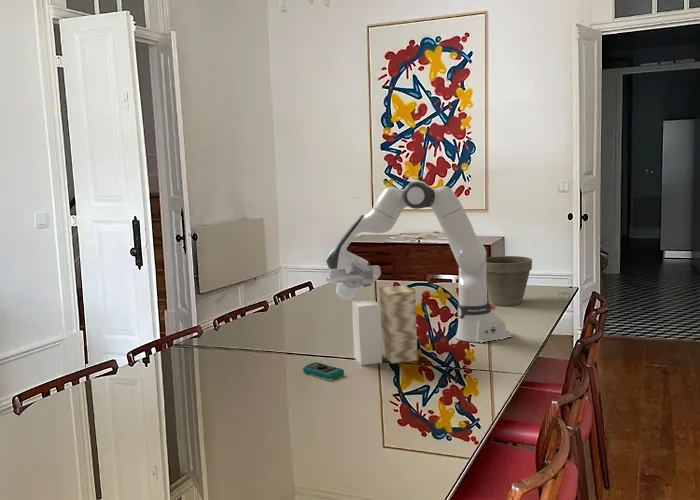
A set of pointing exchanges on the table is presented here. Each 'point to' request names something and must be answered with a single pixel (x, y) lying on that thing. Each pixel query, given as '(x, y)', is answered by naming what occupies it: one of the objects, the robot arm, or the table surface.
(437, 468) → the table surface
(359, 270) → the rod
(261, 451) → the table surface
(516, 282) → the plant pot
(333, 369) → the digital multimeter
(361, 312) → the block
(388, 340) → the tall stand
